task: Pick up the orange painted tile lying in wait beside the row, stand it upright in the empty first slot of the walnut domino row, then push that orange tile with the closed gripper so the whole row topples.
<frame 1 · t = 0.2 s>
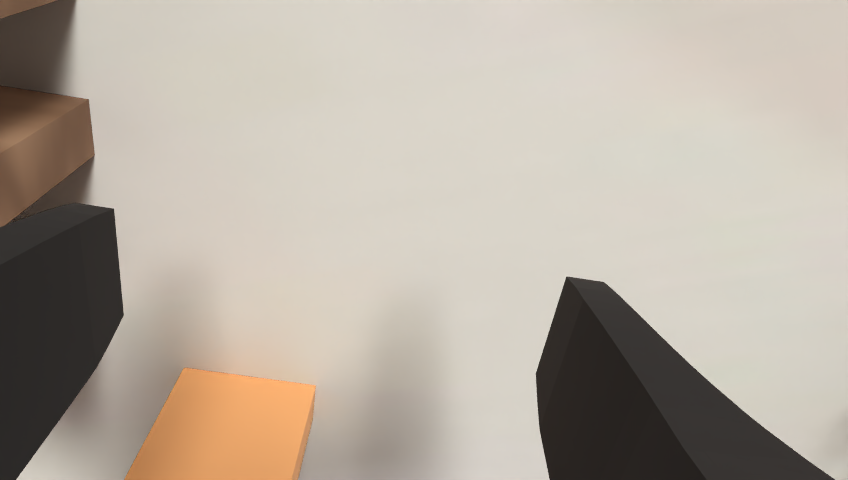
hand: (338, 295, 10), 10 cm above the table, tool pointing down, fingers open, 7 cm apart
orange tile: (249, 394, 25), on the table
tile 3: (8, 115, 19), on the table
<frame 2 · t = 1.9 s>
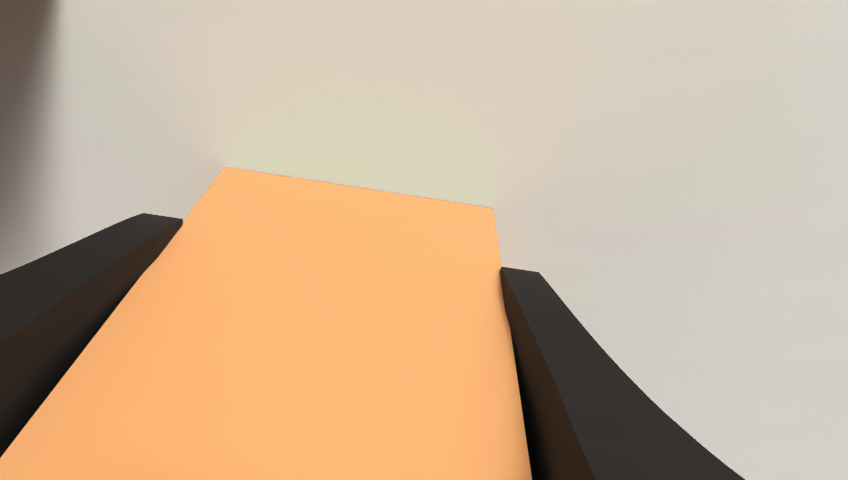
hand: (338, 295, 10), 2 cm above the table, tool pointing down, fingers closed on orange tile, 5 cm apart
orange tile: (355, 230, 12), on the table, touching gripper
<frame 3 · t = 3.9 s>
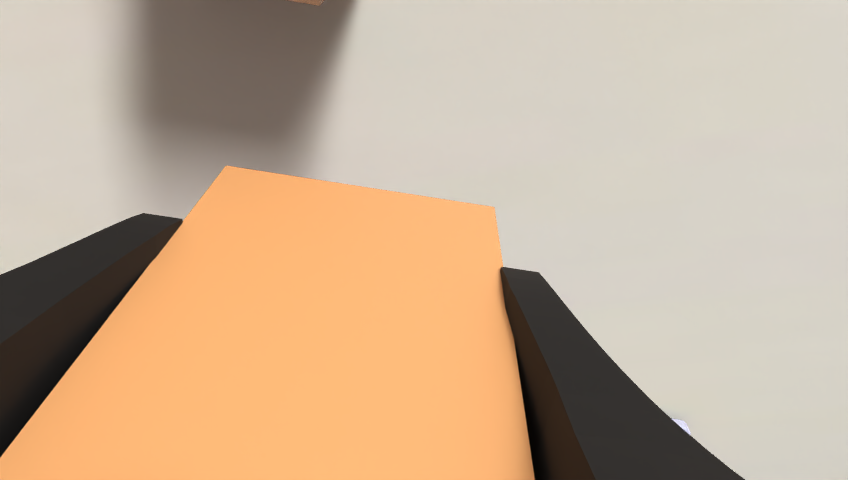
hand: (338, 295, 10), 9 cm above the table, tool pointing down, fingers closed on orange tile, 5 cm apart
orange tile: (356, 228, 12), point 7 cm above the table, touching gripper
when the fingers open (3 cm above the table, at t = 5.9 s): orange tile drops 1 cm, on the table.
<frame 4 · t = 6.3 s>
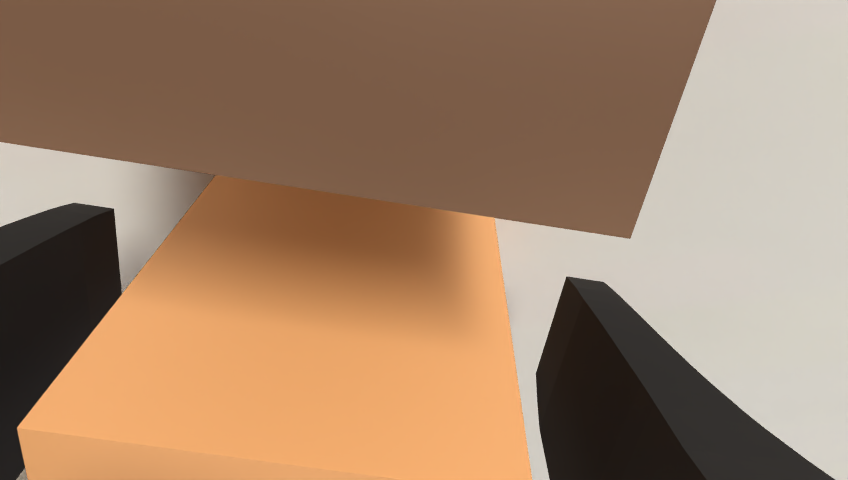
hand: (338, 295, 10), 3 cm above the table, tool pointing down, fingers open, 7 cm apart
orange tile: (361, 204, 13), on the table
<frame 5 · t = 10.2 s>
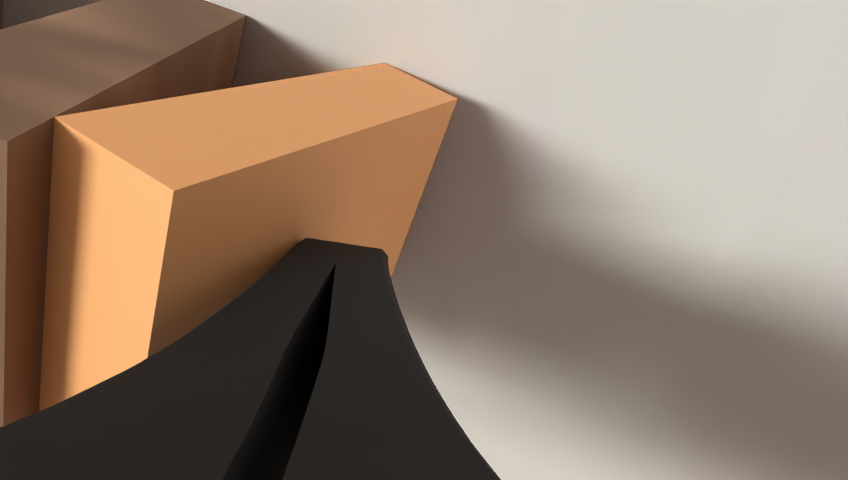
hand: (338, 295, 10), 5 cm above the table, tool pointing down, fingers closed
orange tile: (385, 185, 14), on the table, tilted 26°, touching gripper, tile 2
tile 2: (184, 113, 14), on the table, touching orange tile
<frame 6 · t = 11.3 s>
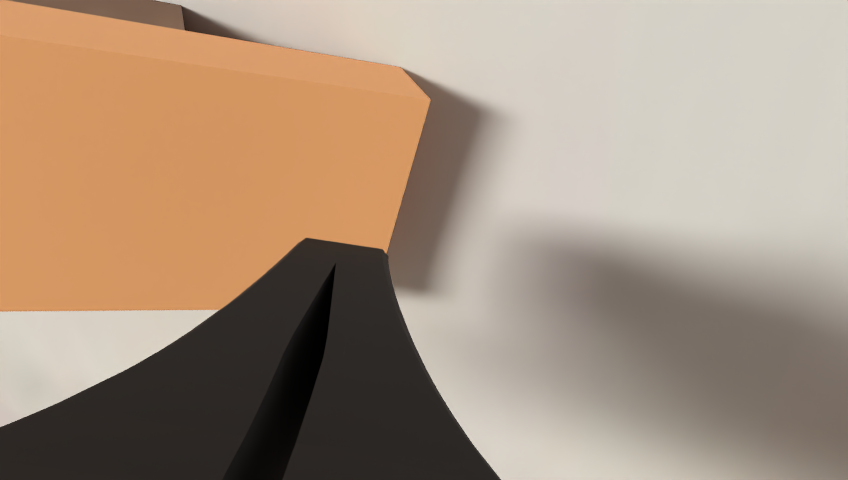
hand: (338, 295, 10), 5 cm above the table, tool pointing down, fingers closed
orange tile: (385, 192, 14), point 1 cm above the table, tilted 67°, touching tile 2
tile 2: (172, 136, 13), point 1 cm above the table, tilted 68°, touching orange tile
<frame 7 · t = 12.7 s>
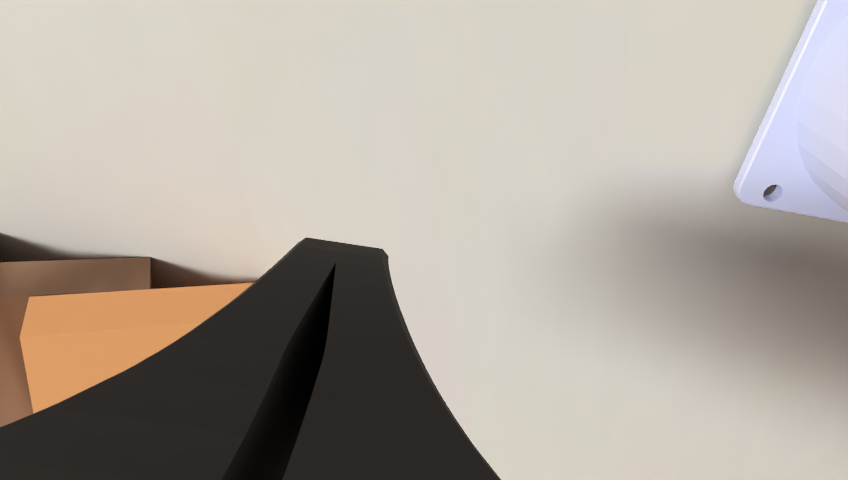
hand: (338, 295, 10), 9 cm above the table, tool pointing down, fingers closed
orange tile: (296, 357, 21), point 1 cm above the table, tilted 68°, touching tile 2
tile 2: (153, 335, 21), point 1 cm above the table, tilted 69°, touching orange tile, tile 3
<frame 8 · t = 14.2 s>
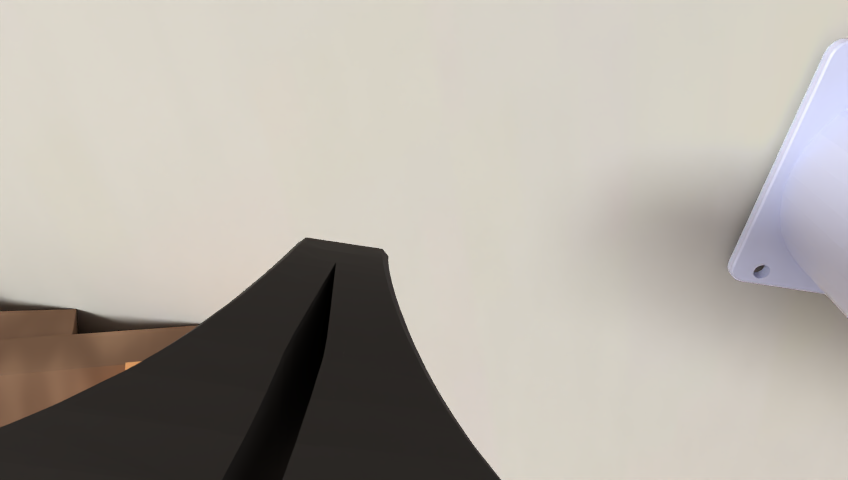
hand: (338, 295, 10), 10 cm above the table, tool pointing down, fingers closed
tile 3: (77, 376, 24), point 1 cm above the table, tilted 69°, touching tile 2, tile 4
tile 2: (216, 391, 24), point 1 cm above the table, tilted 69°, touching orange tile, tile 3
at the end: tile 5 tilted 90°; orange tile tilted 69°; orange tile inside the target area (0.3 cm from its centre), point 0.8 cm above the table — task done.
